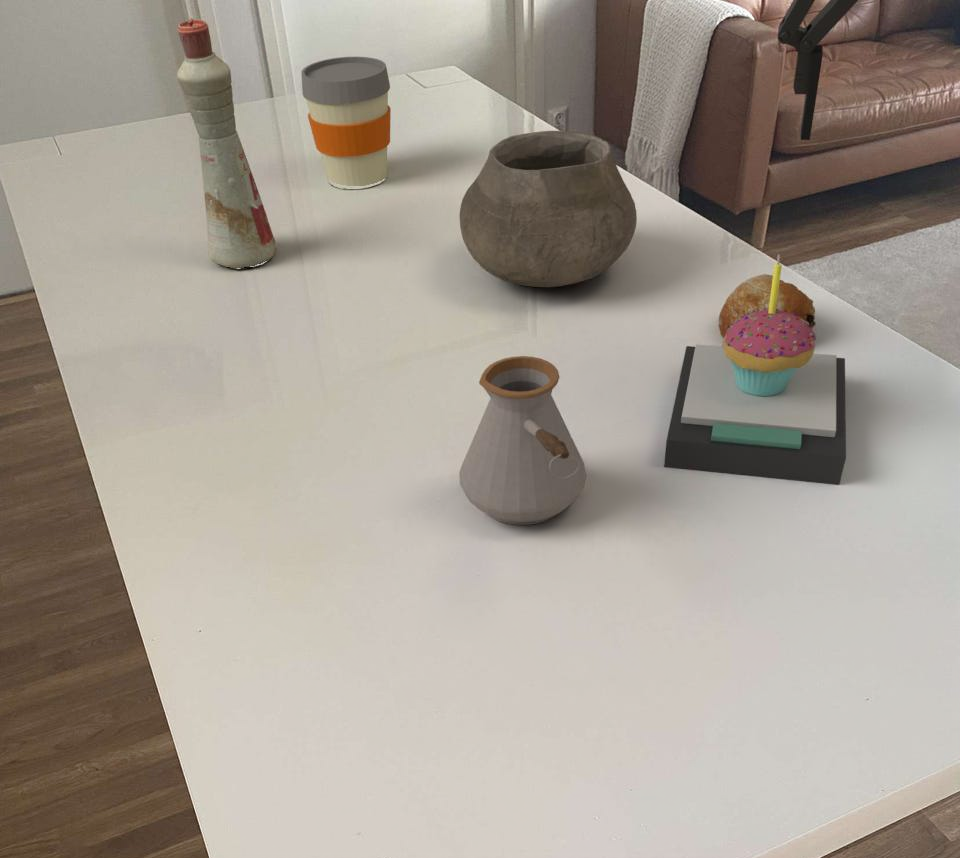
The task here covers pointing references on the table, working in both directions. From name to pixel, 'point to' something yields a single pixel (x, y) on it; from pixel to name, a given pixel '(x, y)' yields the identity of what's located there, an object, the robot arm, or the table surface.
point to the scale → (759, 421)
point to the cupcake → (768, 346)
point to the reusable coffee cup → (349, 117)
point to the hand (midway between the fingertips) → (888, 135)
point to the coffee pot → (522, 446)
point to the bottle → (222, 156)
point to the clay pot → (548, 209)
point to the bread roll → (764, 301)
